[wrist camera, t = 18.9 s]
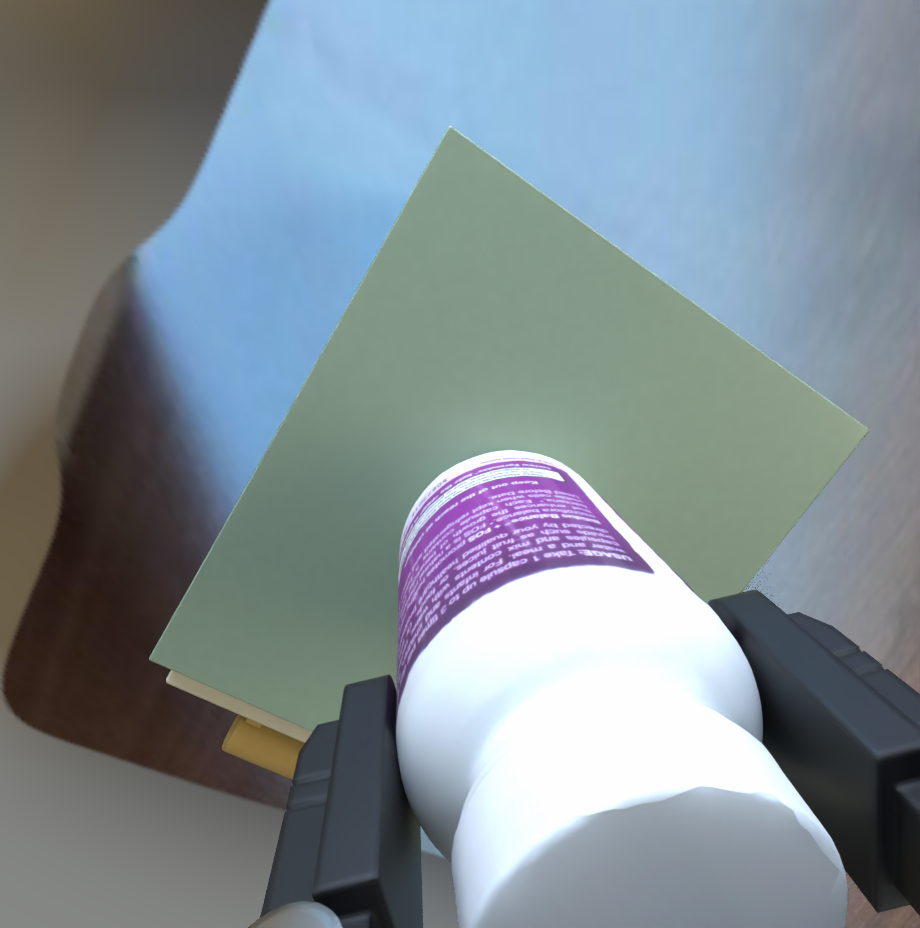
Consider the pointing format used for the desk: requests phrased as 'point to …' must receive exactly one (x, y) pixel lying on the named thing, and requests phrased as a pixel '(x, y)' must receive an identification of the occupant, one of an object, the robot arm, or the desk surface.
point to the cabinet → (493, 433)
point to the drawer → (252, 729)
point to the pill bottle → (587, 722)
